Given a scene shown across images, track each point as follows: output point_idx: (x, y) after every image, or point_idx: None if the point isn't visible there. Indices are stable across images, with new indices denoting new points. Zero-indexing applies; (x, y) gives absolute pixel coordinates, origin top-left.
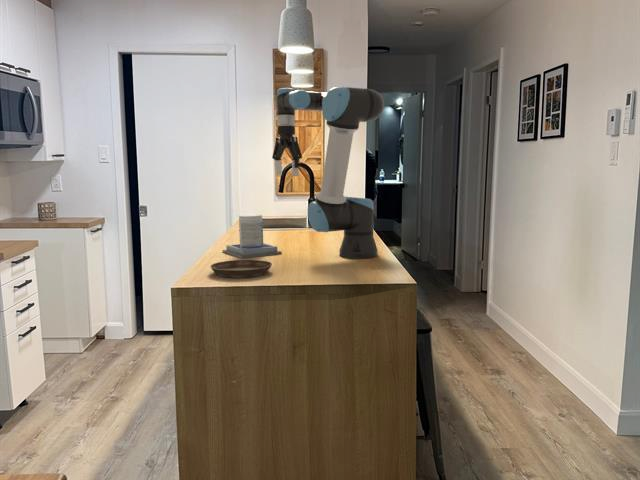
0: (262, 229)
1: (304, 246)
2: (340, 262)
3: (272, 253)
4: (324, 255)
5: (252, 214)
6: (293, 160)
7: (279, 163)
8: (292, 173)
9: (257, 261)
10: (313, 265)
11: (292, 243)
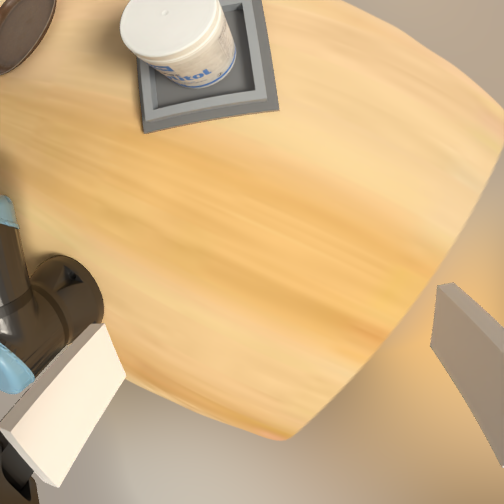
0: (156, 69)
1: (245, 250)
2: (21, 223)
3: (141, 104)
4: (88, 230)
5: (187, 23)
6: (1, 430)
7: (497, 412)
8: (91, 336)
9: (30, 50)
10: (14, 161)
11: (324, 244)
